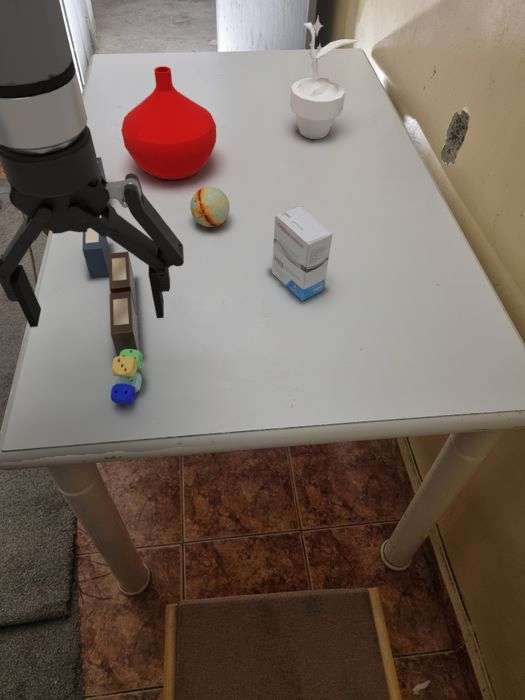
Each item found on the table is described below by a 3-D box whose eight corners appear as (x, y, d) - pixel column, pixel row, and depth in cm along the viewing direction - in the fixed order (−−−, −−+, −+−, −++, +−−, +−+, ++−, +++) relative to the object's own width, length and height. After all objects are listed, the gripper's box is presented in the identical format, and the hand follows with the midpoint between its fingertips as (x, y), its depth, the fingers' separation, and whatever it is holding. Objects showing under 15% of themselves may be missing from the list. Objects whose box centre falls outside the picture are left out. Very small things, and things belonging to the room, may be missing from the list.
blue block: (91, 278, 85) (82, 249, 80) (91, 186, 102) (84, 157, 97) (109, 276, 86) (101, 247, 81) (107, 184, 102) (100, 156, 98)
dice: (133, 413, 69) (125, 385, 64) (114, 412, 69) (104, 384, 64) (146, 366, 74) (139, 336, 69) (128, 364, 74) (119, 335, 69)
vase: (201, 137, 115) (194, 44, 100) (230, 181, 104) (228, 83, 90) (119, 153, 110) (100, 56, 95) (141, 200, 99) (124, 100, 85)
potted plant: (284, 143, 114) (293, 15, 95) (291, 118, 122) (300, -6, 102) (341, 149, 113) (362, 21, 94) (344, 124, 121) (364, 0, 101)
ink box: (324, 290, 85) (334, 233, 76) (300, 302, 83) (308, 244, 74) (293, 261, 89) (299, 203, 80) (270, 272, 87) (273, 213, 78)
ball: (235, 216, 97) (234, 183, 92) (222, 238, 93) (220, 205, 87) (200, 208, 98) (197, 175, 93) (185, 230, 94) (182, 197, 89)
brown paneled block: (118, 361, 74) (110, 333, 70) (116, 281, 85) (108, 252, 80) (139, 359, 75) (132, 331, 70) (134, 279, 85) (128, 250, 81)
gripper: (195, 104, 45) (208, 283, 61) (-109, 113, 43) (-11, 297, 59) (199, 149, 40) (212, 330, 57) (-143, 162, 38) (-26, 347, 54)
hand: (98, 314), depth 58 cm, fingers open, 13 cm apart
